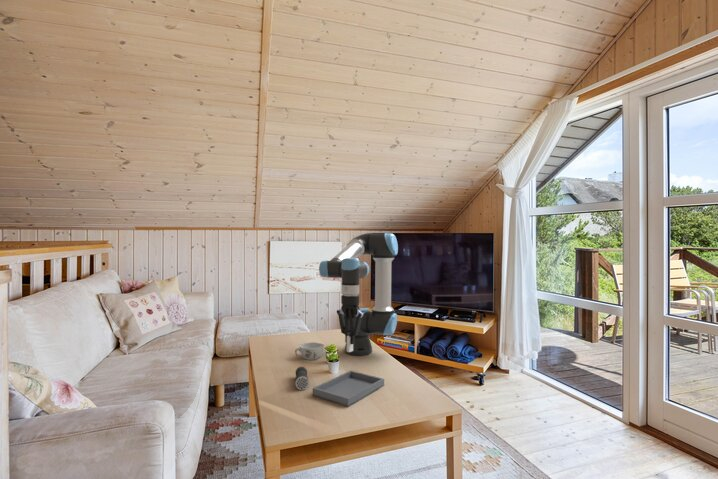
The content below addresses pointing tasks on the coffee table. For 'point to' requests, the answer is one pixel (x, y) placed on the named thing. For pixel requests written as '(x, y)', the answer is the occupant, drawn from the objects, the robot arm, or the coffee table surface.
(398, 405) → the coffee table surface
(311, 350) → the teacup
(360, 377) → the box
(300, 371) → the flashlight
